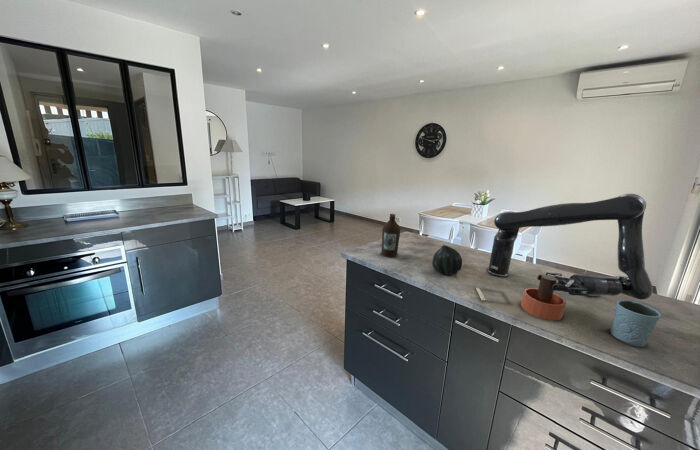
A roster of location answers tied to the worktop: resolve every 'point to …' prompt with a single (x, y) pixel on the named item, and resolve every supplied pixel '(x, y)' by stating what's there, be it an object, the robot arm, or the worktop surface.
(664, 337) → the worktop surface
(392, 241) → the olive oil
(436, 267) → the squash
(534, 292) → the pot
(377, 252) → the worktop surface
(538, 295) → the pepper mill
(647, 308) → the blue embossed planter
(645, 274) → the robot arm
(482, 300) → the cloth
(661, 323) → the worktop surface
